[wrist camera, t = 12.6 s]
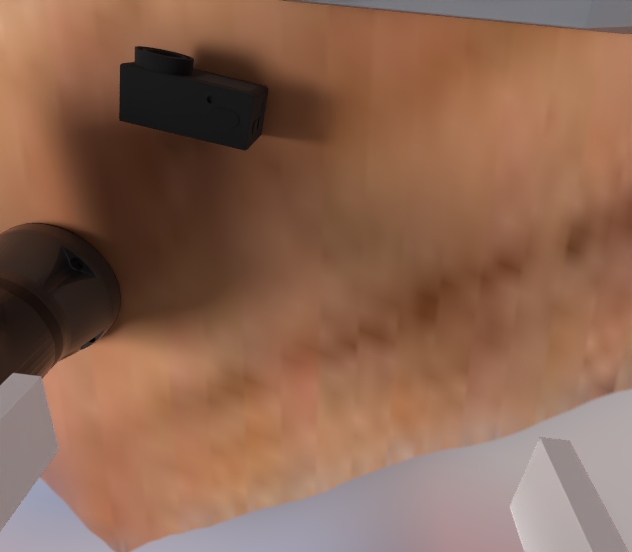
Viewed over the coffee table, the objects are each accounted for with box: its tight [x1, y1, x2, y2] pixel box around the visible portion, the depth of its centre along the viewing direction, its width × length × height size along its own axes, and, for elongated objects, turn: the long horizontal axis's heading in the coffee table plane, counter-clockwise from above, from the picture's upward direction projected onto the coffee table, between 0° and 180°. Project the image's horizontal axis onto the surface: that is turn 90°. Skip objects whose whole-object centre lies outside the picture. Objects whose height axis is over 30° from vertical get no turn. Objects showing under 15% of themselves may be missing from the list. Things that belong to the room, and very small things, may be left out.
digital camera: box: [119, 46, 268, 150], centre depth 38 cm, size 10×5×7 cm, turn 78°
